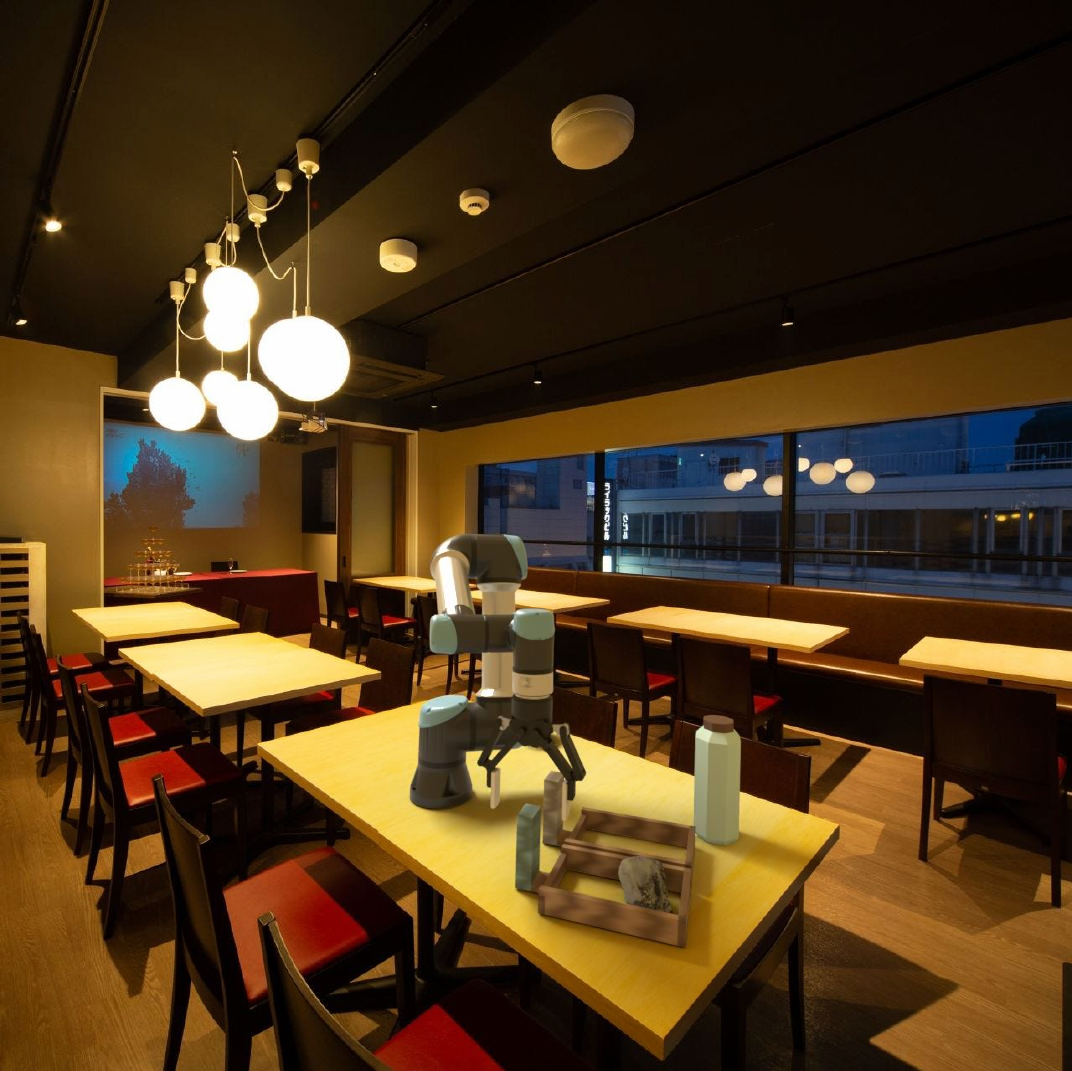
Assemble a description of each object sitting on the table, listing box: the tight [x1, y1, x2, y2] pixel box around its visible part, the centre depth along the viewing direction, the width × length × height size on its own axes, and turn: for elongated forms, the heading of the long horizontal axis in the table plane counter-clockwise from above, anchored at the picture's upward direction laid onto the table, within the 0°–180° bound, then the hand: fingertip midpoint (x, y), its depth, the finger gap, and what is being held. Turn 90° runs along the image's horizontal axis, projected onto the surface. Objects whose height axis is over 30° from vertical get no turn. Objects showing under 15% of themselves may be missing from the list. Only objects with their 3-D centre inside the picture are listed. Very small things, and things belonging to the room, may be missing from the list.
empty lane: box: [542, 770, 696, 884], centre depth 117 cm, size 30×15×13 cm, turn 72°
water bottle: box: [692, 714, 742, 846], centre depth 125 cm, size 10×10×25 cm
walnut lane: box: [514, 803, 692, 948], centre depth 102 cm, size 30×15×13 cm, turn 72°
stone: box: [618, 856, 674, 914], centre depth 99 cm, size 10×10×10 cm
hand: (529, 811), depth 105 cm, fingers open, 13 cm apart
